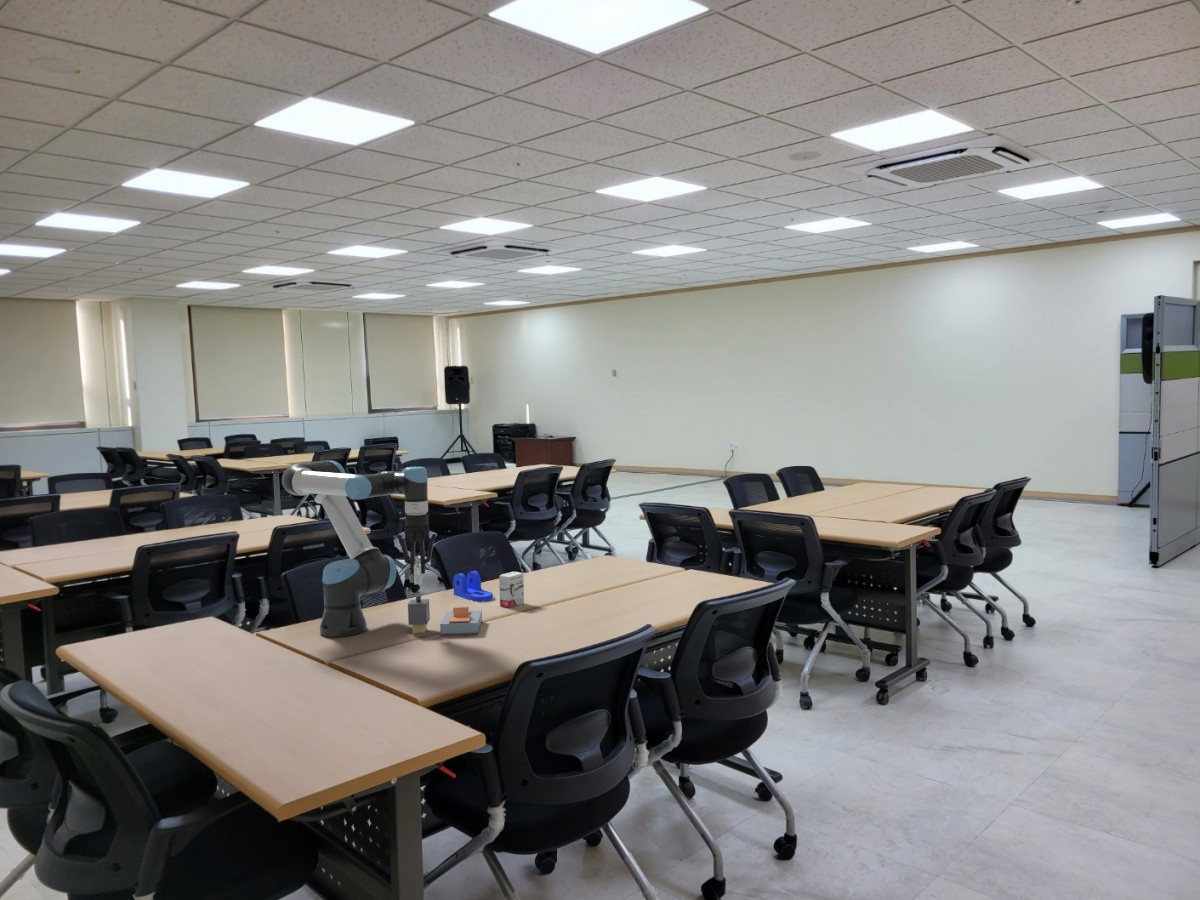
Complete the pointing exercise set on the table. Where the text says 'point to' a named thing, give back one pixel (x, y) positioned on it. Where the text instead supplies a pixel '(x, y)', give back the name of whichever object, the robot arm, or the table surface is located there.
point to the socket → (461, 625)
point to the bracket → (470, 587)
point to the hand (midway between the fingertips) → (418, 583)
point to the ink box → (511, 589)
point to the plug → (418, 614)
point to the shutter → (460, 614)
